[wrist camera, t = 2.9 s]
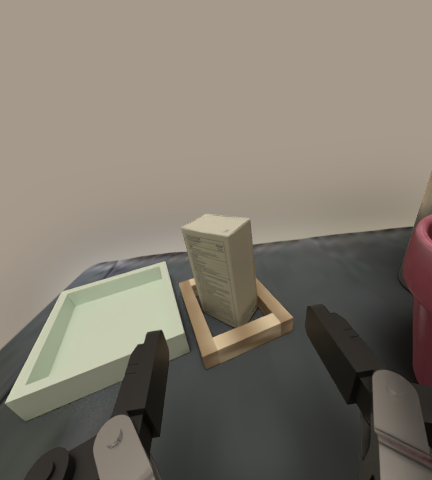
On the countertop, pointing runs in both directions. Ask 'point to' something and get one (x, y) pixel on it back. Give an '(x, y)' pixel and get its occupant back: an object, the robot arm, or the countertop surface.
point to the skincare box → (223, 266)
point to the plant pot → (421, 297)
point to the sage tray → (96, 338)
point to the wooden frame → (240, 337)
